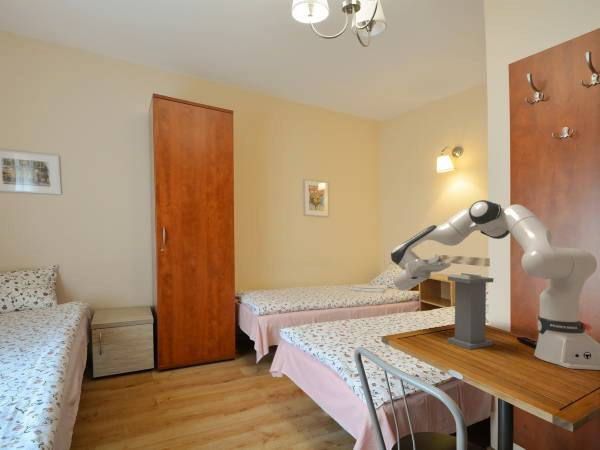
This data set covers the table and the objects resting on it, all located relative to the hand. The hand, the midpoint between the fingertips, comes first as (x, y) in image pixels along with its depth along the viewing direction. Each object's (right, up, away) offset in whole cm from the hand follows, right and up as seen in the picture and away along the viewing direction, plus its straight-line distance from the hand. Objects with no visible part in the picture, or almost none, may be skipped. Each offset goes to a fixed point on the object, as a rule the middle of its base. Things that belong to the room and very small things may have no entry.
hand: (442, 257), depth 147 cm
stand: (+7, -33, -9) cm, 35 cm away
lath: (+4, -2, -8) cm, 9 cm away
